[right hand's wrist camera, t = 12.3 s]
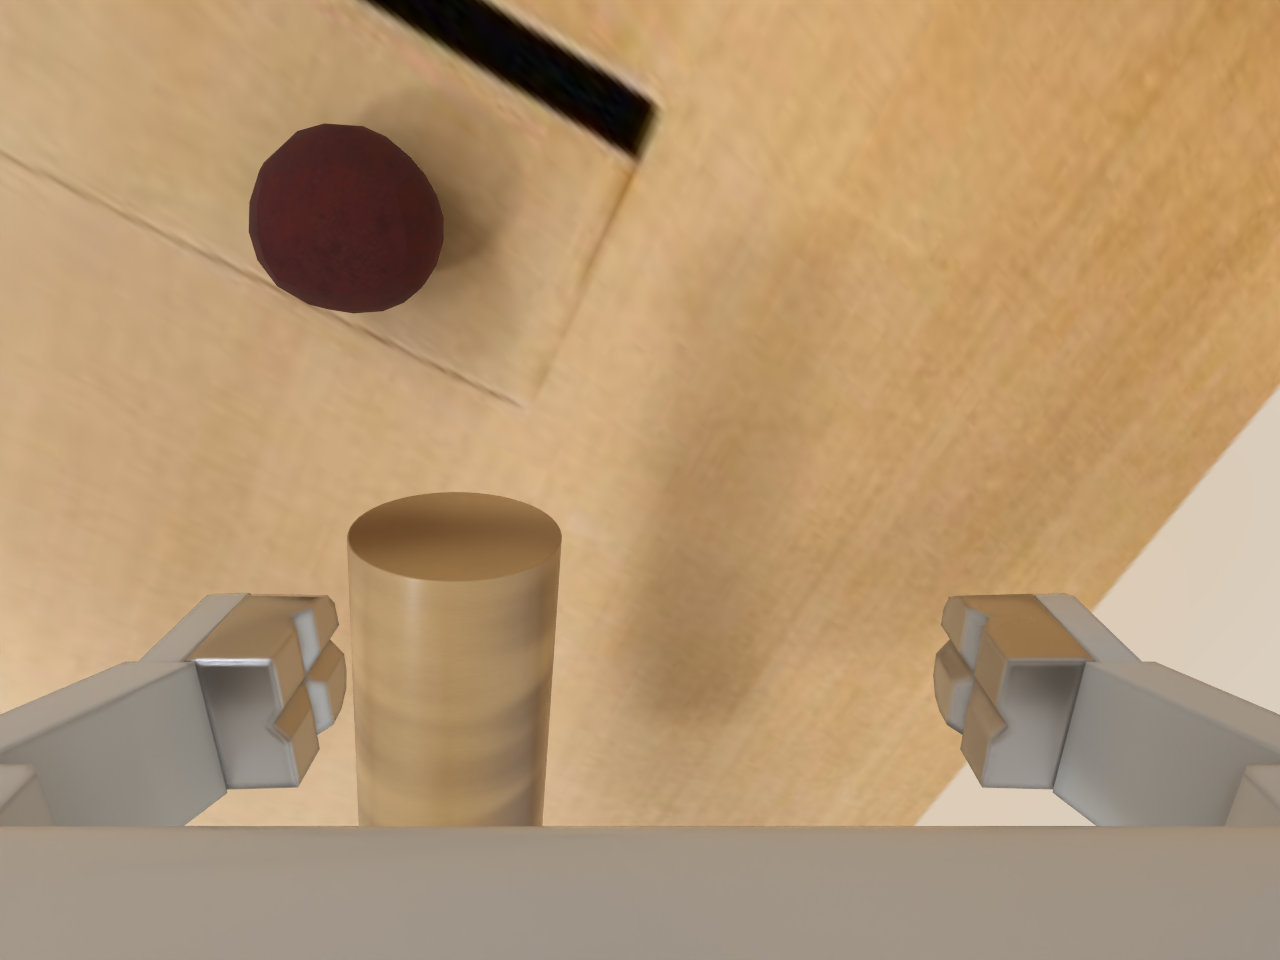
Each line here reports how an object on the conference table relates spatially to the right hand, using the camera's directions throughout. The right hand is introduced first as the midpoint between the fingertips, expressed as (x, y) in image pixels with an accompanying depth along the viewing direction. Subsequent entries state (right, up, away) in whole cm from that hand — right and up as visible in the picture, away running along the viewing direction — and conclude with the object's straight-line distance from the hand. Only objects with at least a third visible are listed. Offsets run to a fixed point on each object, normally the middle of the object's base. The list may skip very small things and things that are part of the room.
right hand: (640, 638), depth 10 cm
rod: (-7, -9, +19) cm, 23 cm away
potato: (-12, +14, +25) cm, 31 cm away
